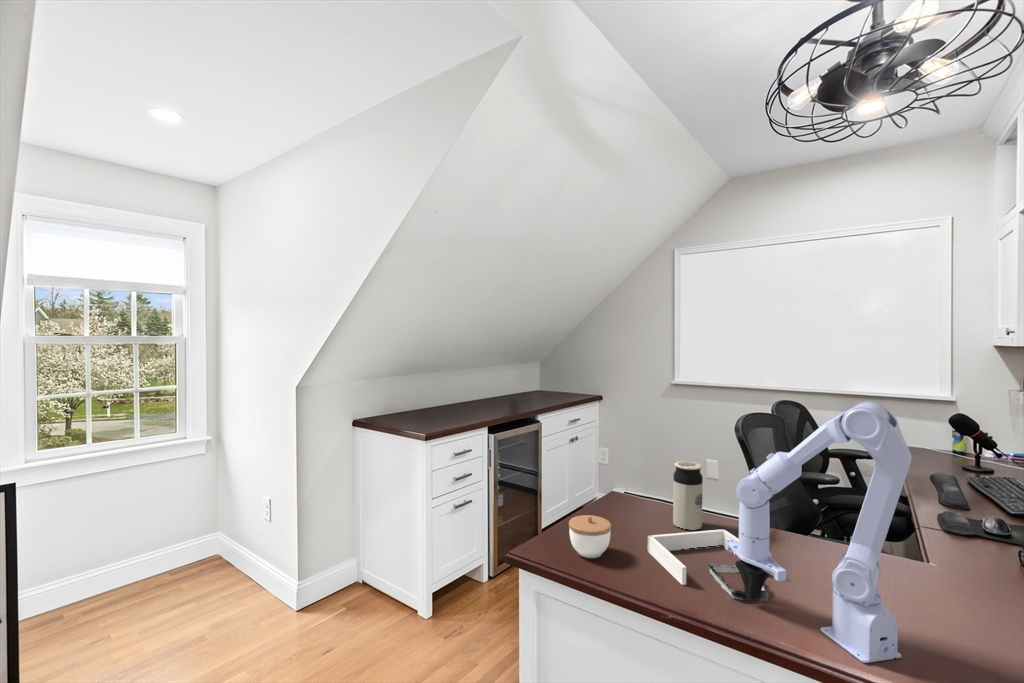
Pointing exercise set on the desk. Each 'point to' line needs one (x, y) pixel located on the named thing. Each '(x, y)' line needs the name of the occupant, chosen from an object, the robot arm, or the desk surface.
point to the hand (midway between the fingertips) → (752, 597)
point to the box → (683, 547)
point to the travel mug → (687, 495)
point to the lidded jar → (589, 535)
